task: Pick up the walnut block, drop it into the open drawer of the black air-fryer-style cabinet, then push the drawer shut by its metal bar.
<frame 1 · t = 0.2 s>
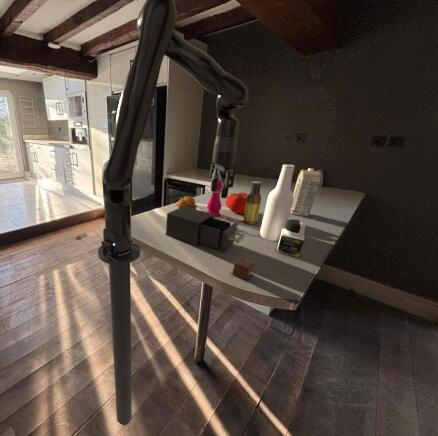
hand: (218, 194, 87), 19 cm above the table, tool pointing down, fingers open, 8 cm apart
orange rounded lump: (186, 213, 122), on the table
medicine bottle: (288, 250, 87), on the table
alcohol: (270, 237, 98), on the table
cabinet: (188, 234, 98), on the table
juice carton: (298, 213, 125), on the table
block: (241, 274, 73), on the table
pepper mill: (212, 214, 121), on the table
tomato: (239, 212, 125), on the table
sauce bottle: (249, 222, 112), on the table
drawer: (218, 233, 89), point 5 cm above the table, slide at 9.0 cm
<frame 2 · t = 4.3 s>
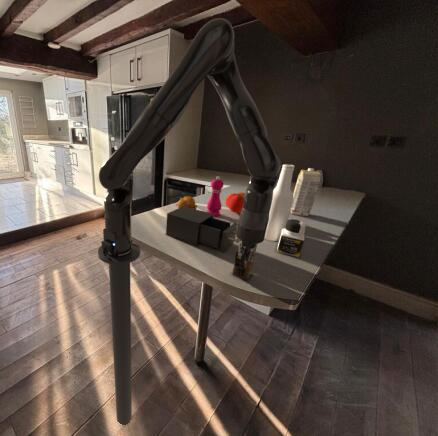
hand: (242, 273, 73), 1 cm above the table, tool pointing down, fingers closed on block, 4 cm apart
block: (241, 274, 73), on the table, touching gripper
everything else where it was.
when the fingers open (8 cm above the table, at t = 10.3 s): block drops 6 cm, resting on drawer.
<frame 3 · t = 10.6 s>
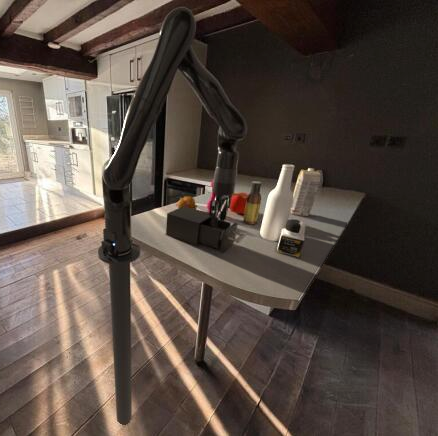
hand: (218, 222, 87), 9 cm above the table, tool pointing down, fingers open, 7 cm apart
block: (215, 239, 90), point 2 cm above the table, touching drawer
drawer: (218, 233, 89), point 5 cm above the table, slide at 9.0 cm, touching block
everything else where it was.
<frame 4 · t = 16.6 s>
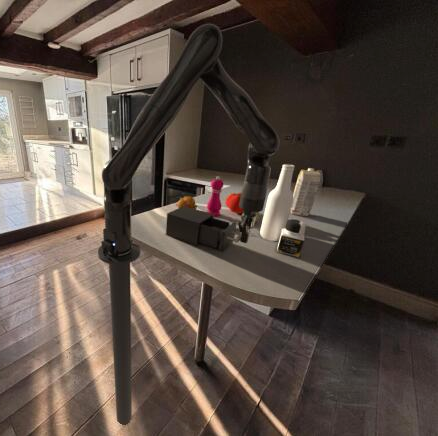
hand: (243, 241, 83), 5 cm above the table, tool pointing down, fingers closed
drawer: (217, 233, 89), point 5 cm above the table, slide at 8.6 cm, touching block, gripper
everything else where it was.
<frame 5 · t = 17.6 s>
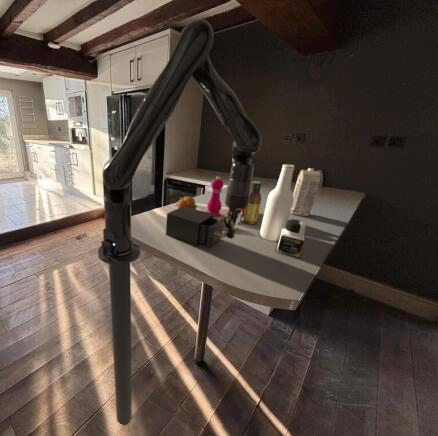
hand: (230, 237, 86), 5 cm above the table, tool pointing down, fingers closed
block: (203, 235, 93), point 2 cm above the table, touching drawer
drawer: (205, 229, 92), point 5 cm above the table, slide at 3.6 cm, touching block, gripper
everything else where it was.
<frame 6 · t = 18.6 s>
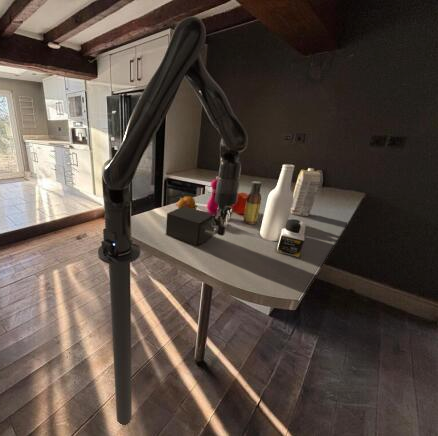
hand: (221, 234, 88), 5 cm above the table, tool pointing down, fingers closed
block: (195, 232, 95), point 2 cm above the table, touching drawer
drawer: (197, 227, 94), point 5 cm above the table, slide at 0.0 cm, touching block, cabinet, gripper
everything else where it was.
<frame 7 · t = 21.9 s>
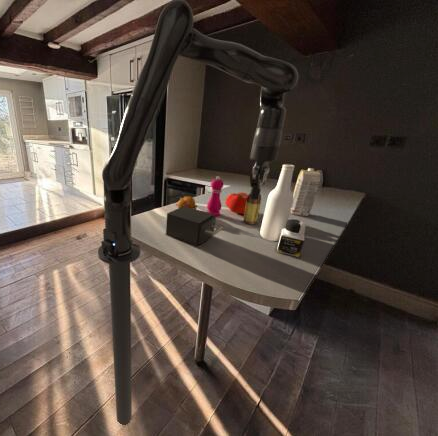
hand: (254, 198, 76), 21 cm above the table, tool pointing down, fingers closed
drawer: (197, 227, 94), point 5 cm above the table, slide at 0.0 cm, touching block
everything else where it was.
at the end: block inside the target area in the cabinet (3.0 cm from its centre), point 2.0 cm above the cabinet's base; drawer slide at 0.0 cm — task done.
